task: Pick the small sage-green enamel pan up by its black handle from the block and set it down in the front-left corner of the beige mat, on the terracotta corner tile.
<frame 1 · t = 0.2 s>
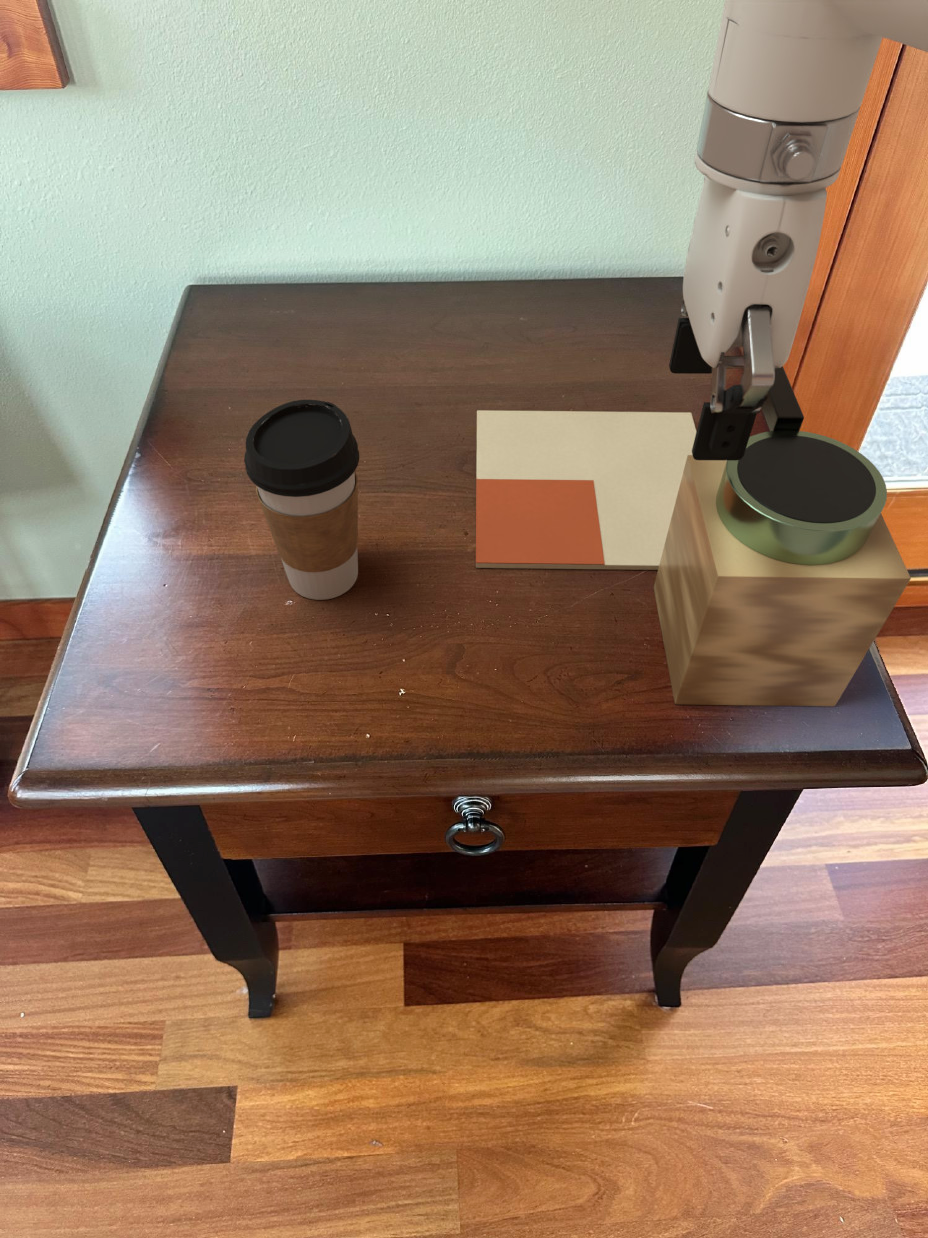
hand: (703, 412, 57), 18 cm above the table, tool pointing down, fingers open, 9 cm apart
coffee cup: (323, 576, 71), on the table
block: (738, 643, 66), on the table
pan: (791, 512, 56), point 14 cm above the table, touching block
mat: (592, 485, 79), on the table
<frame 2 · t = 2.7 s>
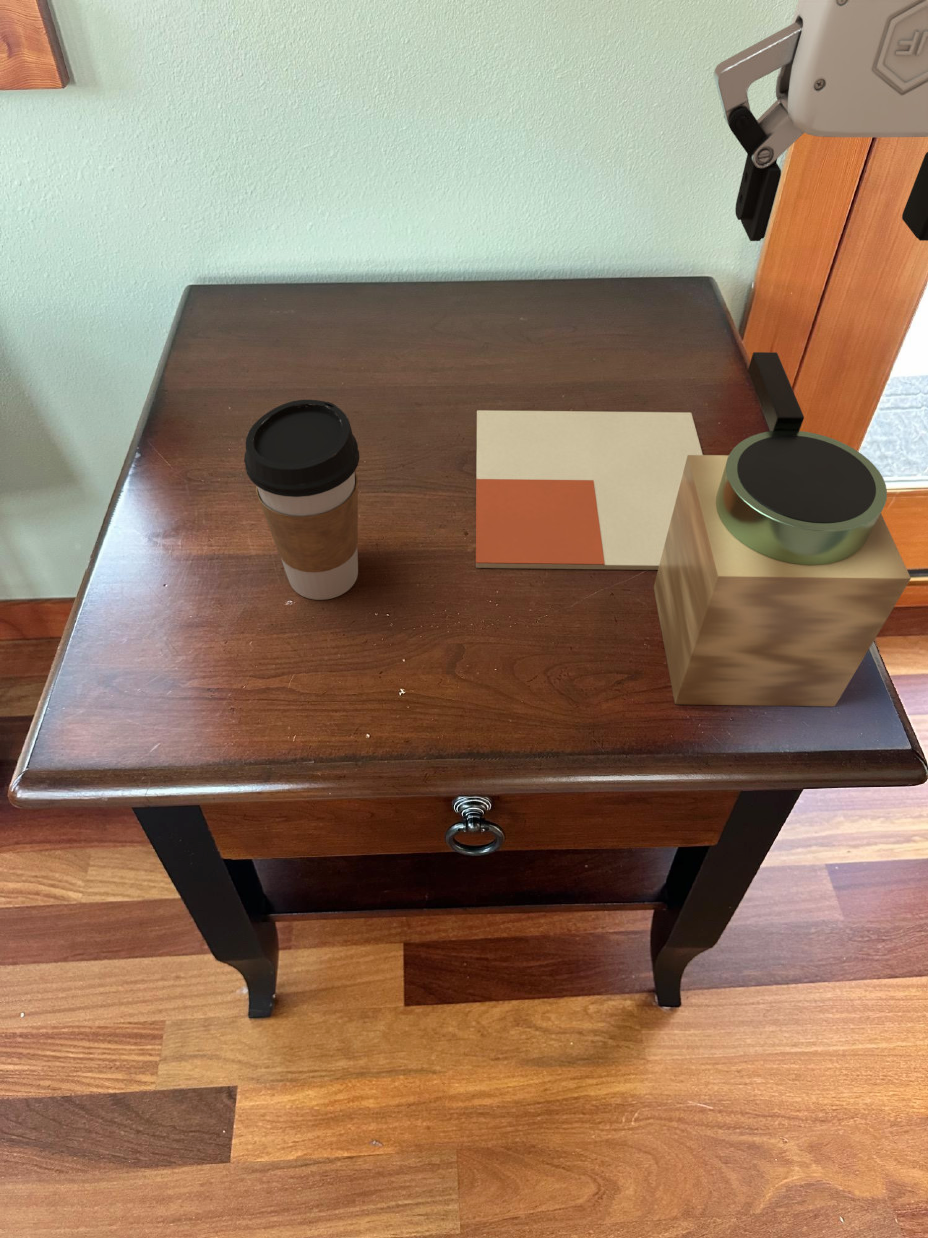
hand: (833, 230, 49), 29 cm above the table, tool pointing down, fingers open, 9 cm apart
nothing on the table moved.
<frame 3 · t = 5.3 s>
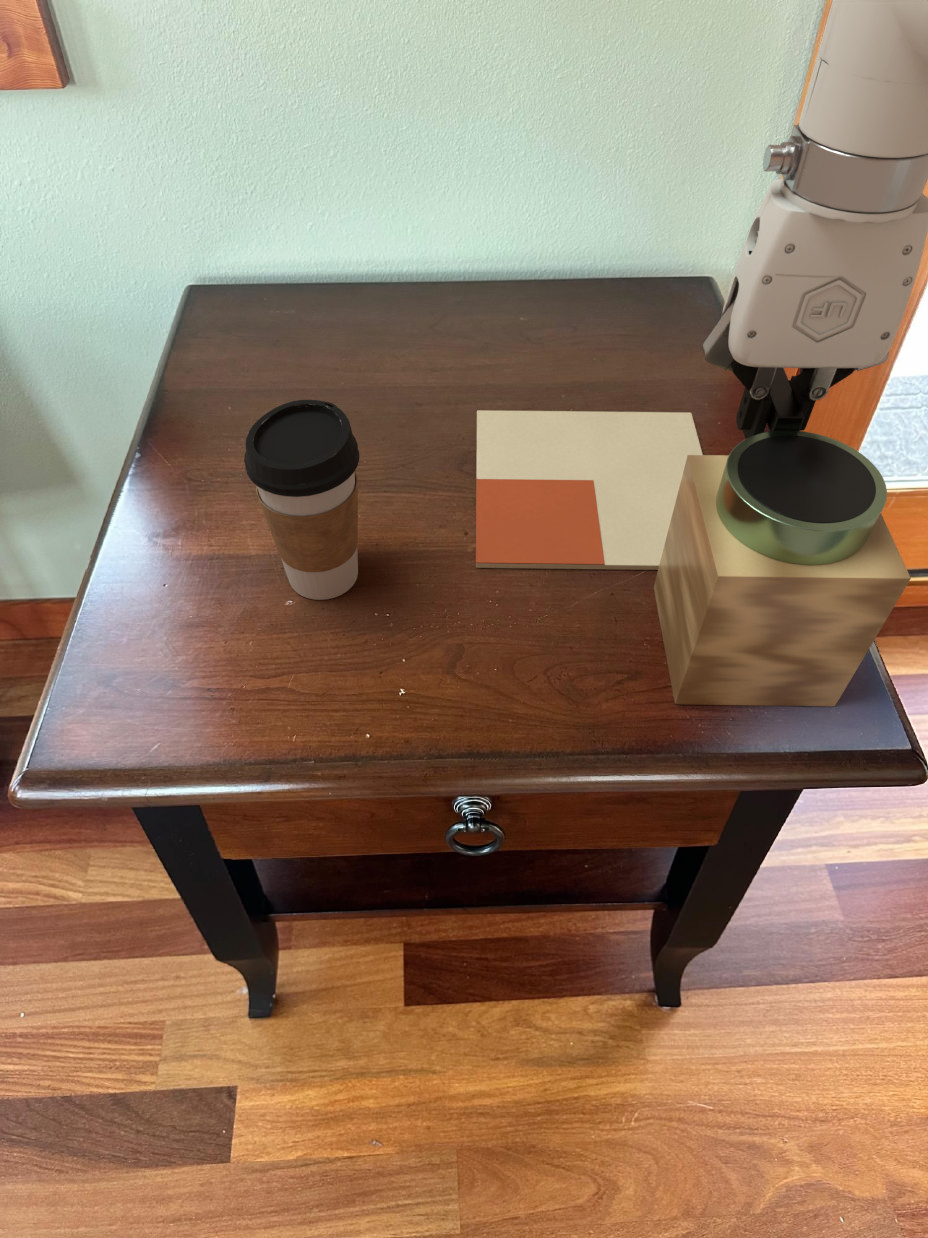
hand: (766, 434, 61), 14 cm above the table, tool pointing down, fingers closed on pan
pan: (791, 512, 56), point 14 cm above the table, touching gripper, block
everything else where it was.
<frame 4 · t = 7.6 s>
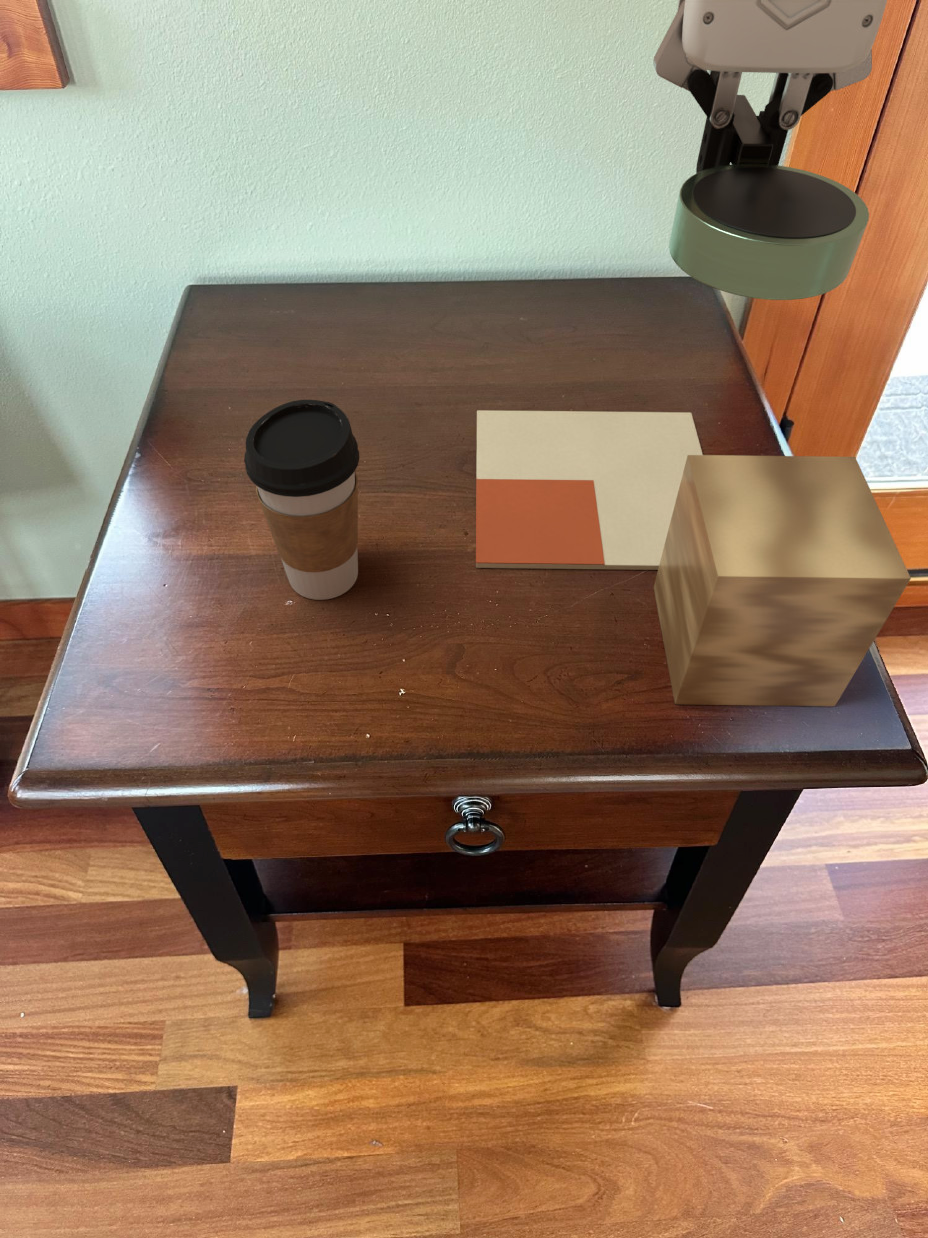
hand: (731, 188, 52), 30 cm above the table, tool pointing down, fingers closed on pan
pan: (757, 255, 47), point 29 cm above the table, touching gripper
everything else where it was.
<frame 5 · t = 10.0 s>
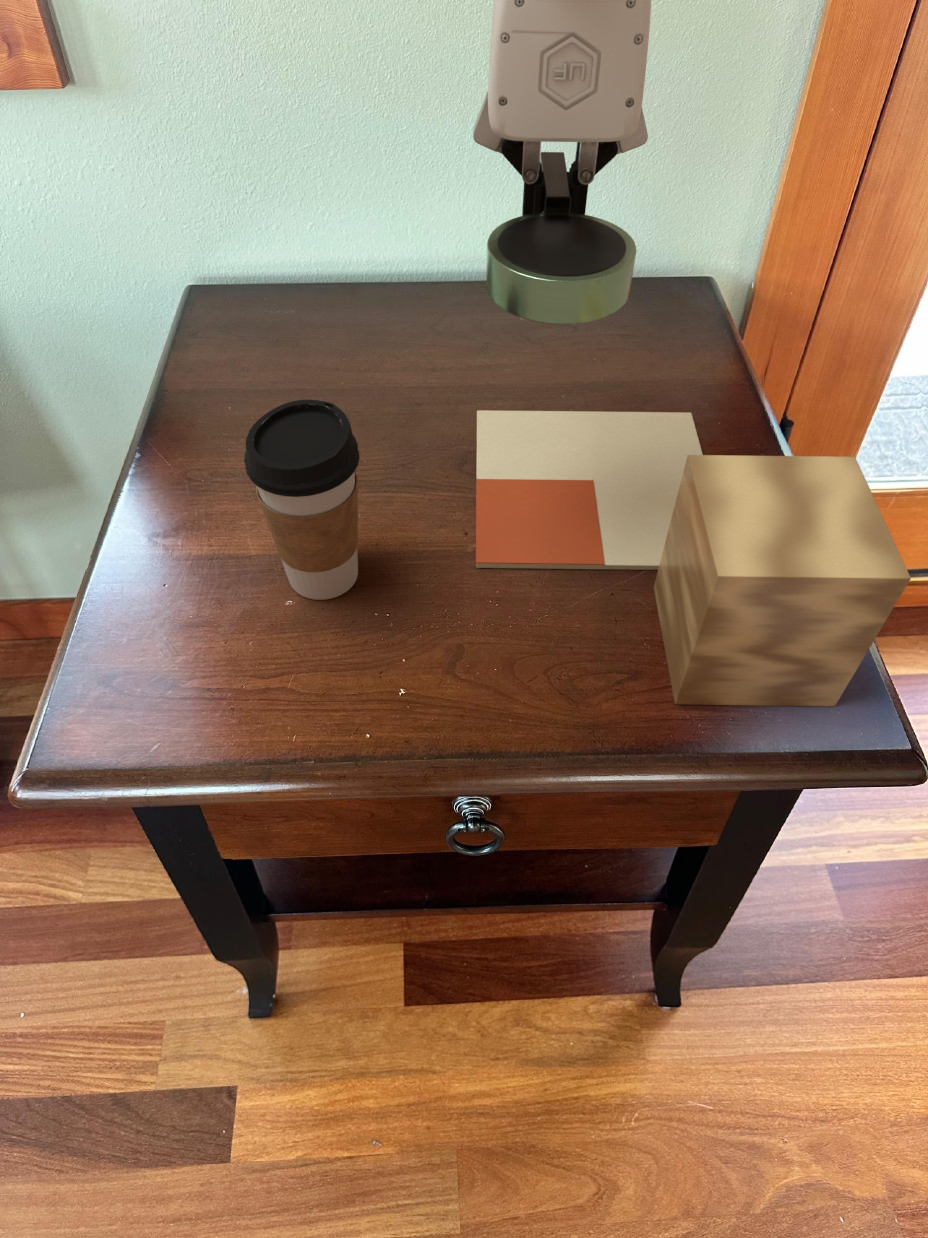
hand: (551, 230, 63), 23 cm above the table, tool pointing down, fingers closed on pan
pan: (557, 286, 58), point 23 cm above the table, touching gripper
everything else where it was.
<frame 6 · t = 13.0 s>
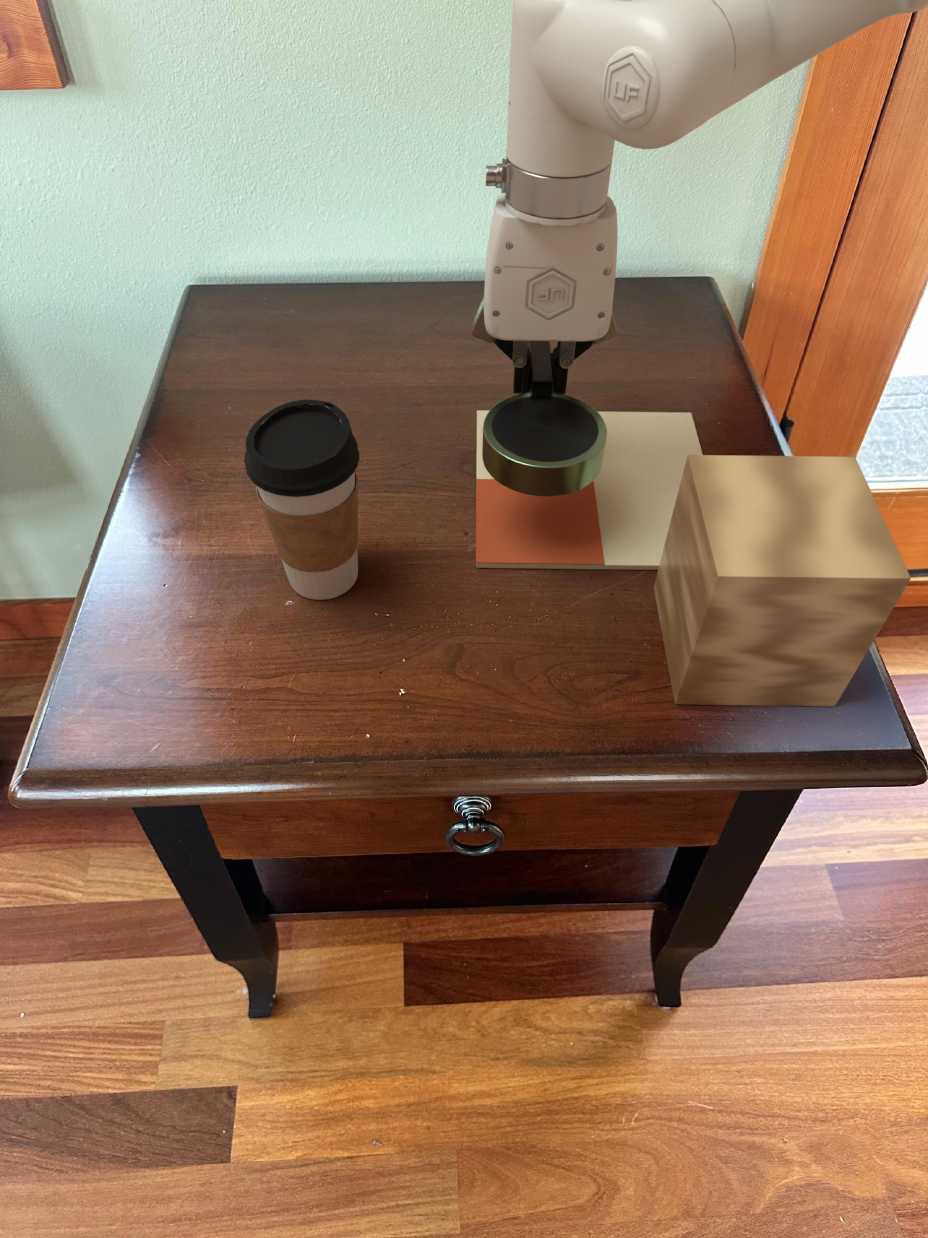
hand: (538, 397, 75), 8 cm above the table, tool pointing down, fingers closed on pan
pan: (542, 456, 70), point 8 cm above the table, touching gripper
everything else where it was.
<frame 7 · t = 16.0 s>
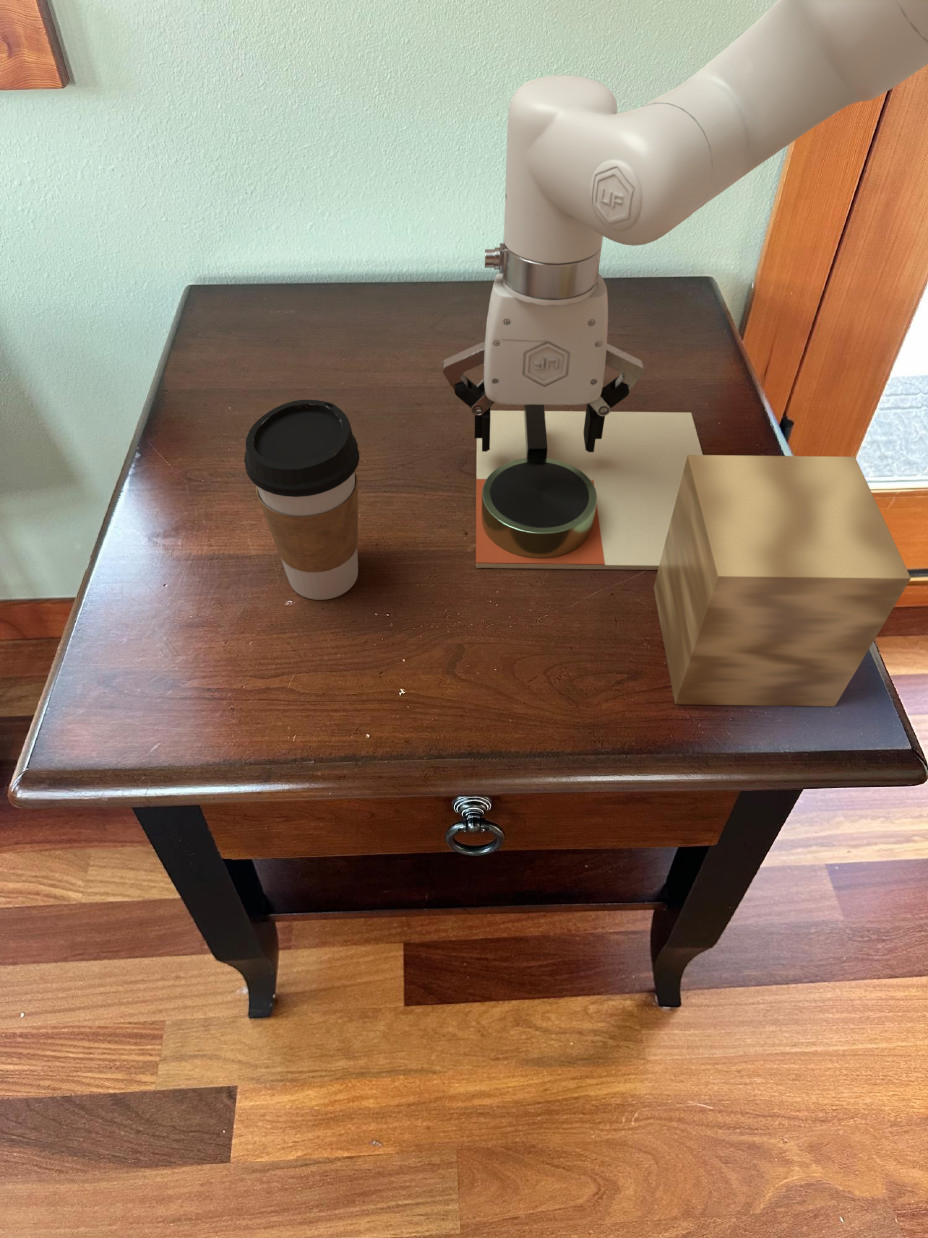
hand: (536, 442, 78), 3 cm above the table, tool pointing down, fingers open, 9 cm apart
pan: (537, 519, 75), point 1 cm above the table, touching mat
everything else where it was.
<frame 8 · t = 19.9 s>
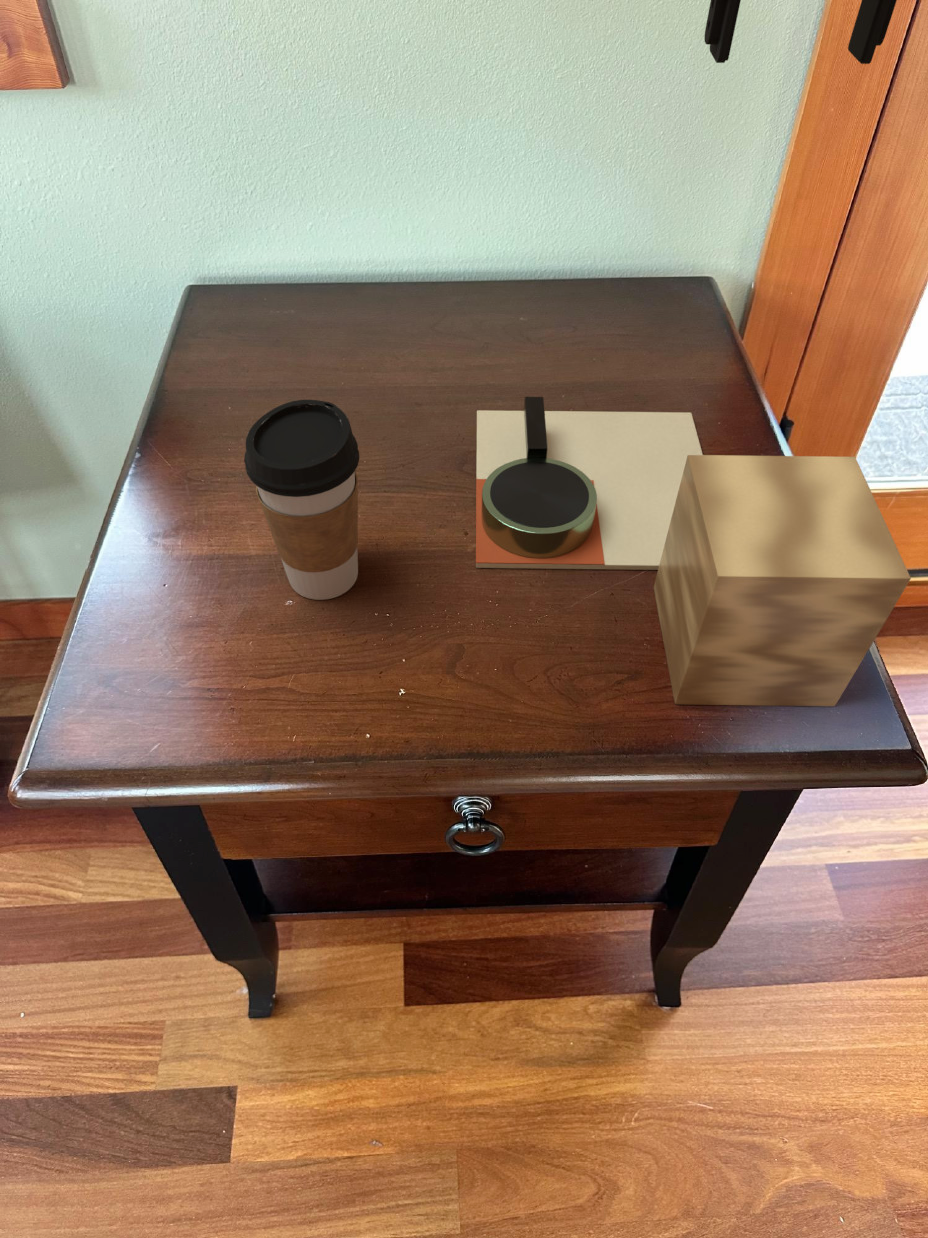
hand: (788, 56, 57), 33 cm above the table, tool pointing down, fingers open, 9 cm apart
nothing on the table moved.
at the end: pan inside the target area on the mat (0.4 cm from its centre), point 0.7 cm above the mat's base; pan tilted 0°; the gripper is holding nothing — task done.
